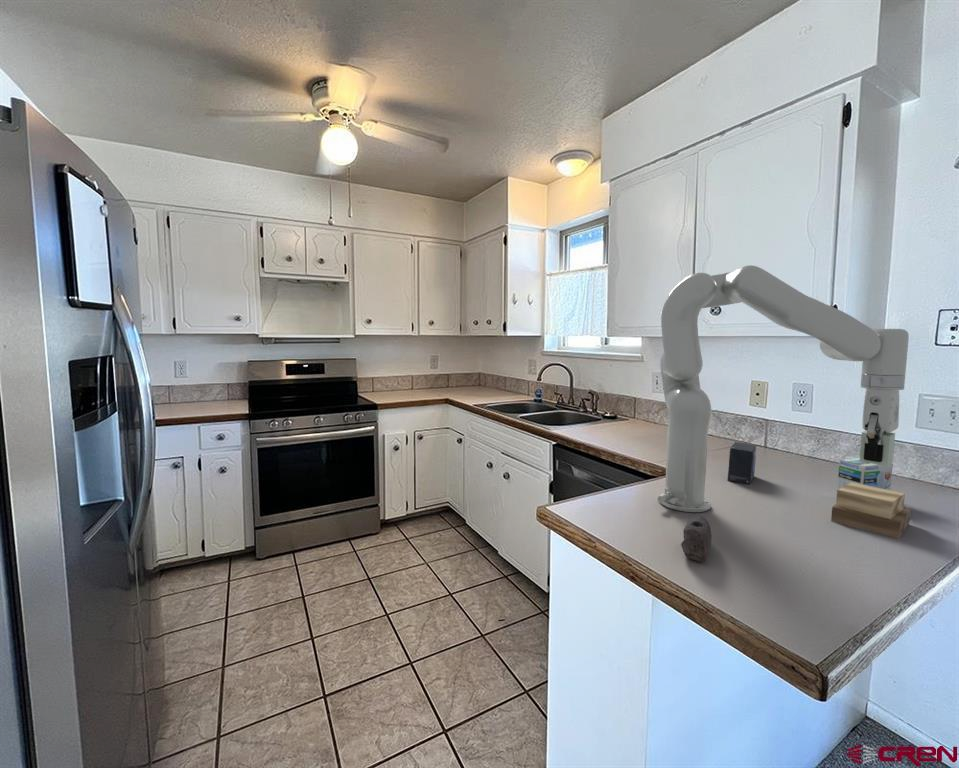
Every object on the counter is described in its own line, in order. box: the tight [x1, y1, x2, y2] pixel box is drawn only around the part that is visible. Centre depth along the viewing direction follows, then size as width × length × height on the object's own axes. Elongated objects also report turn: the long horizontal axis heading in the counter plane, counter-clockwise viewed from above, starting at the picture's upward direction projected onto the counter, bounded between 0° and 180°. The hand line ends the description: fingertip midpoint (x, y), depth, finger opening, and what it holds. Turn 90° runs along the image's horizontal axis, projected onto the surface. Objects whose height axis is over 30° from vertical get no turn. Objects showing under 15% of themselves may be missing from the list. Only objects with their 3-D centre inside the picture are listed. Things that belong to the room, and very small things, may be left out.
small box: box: [727, 441, 757, 485], centre depth 138 cm, size 11×6×10 cm, turn 143°
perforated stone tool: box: [680, 515, 712, 563], centre depth 92 cm, size 15×5×7 cm, turn 147°
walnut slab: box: [830, 503, 911, 539], centre depth 106 cm, size 12×12×4 cm
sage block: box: [859, 430, 896, 466], centre depth 104 cm, size 5×5×7 cm
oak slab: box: [835, 482, 905, 519], centre depth 106 cm, size 10×10×4 cm
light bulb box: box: [836, 457, 894, 491], centre depth 121 cm, size 11×7×11 cm, turn 105°
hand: (875, 457), depth 105 cm, fingers closed on sage block, 5 cm apart
